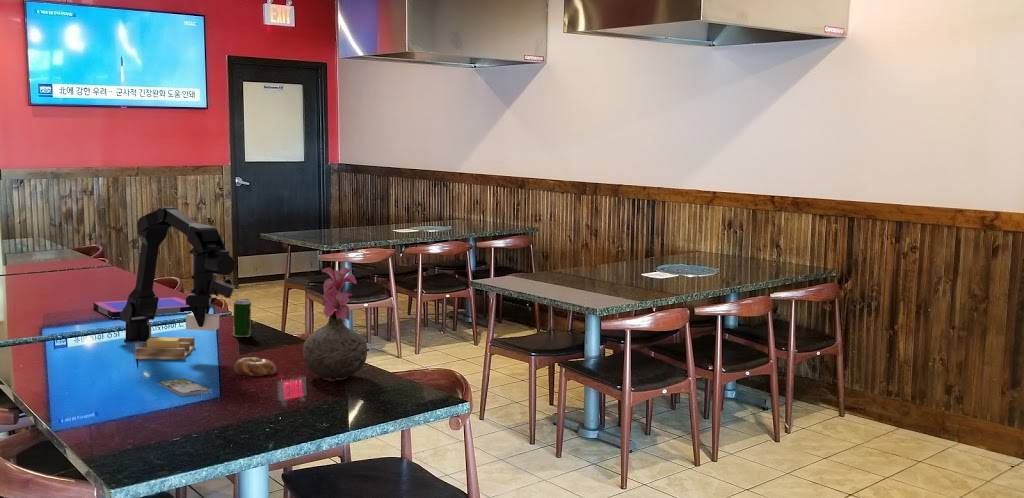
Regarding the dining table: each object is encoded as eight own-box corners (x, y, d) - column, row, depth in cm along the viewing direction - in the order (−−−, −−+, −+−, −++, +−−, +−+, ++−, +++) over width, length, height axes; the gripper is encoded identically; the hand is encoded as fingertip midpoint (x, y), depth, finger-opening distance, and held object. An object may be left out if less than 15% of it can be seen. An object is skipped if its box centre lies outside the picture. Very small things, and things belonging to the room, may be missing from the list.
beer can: (235, 338, 281) (236, 301, 279) (231, 335, 285) (231, 298, 284) (252, 337, 284) (253, 300, 282) (247, 334, 288) (248, 298, 287)
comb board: (135, 358, 248) (135, 348, 248) (149, 346, 264) (149, 336, 263) (183, 359, 250) (183, 349, 250) (194, 347, 266) (194, 337, 265)
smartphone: (184, 378, 229) (210, 389, 219) (184, 382, 229) (210, 393, 219) (156, 381, 224) (181, 393, 213) (156, 386, 224) (181, 397, 213)
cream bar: (185, 328, 250) (186, 315, 250) (192, 326, 254) (192, 312, 254) (212, 331, 249) (212, 317, 249) (218, 328, 253) (219, 314, 253)
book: (93, 302, 317) (176, 297, 336) (93, 310, 317) (176, 305, 337) (112, 312, 301) (198, 305, 321) (112, 320, 301) (198, 313, 321)
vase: (311, 388, 227) (314, 272, 224) (295, 372, 242) (297, 264, 239) (373, 383, 235) (377, 271, 232) (354, 368, 250) (357, 263, 247)
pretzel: (285, 371, 244) (286, 358, 243) (261, 380, 234) (261, 366, 233) (250, 365, 248) (250, 352, 248) (224, 373, 238) (224, 360, 238)
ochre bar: (147, 354, 251) (147, 340, 250) (150, 351, 254) (150, 337, 254) (176, 354, 252) (176, 340, 251) (179, 351, 256) (179, 338, 255)
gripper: (228, 276, 242) (226, 332, 244) (237, 267, 260) (236, 319, 262) (185, 275, 240) (184, 331, 242) (198, 266, 259) (197, 318, 260)
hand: (202, 325), depth 252 cm, fingers closed on cream bar, 5 cm apart
